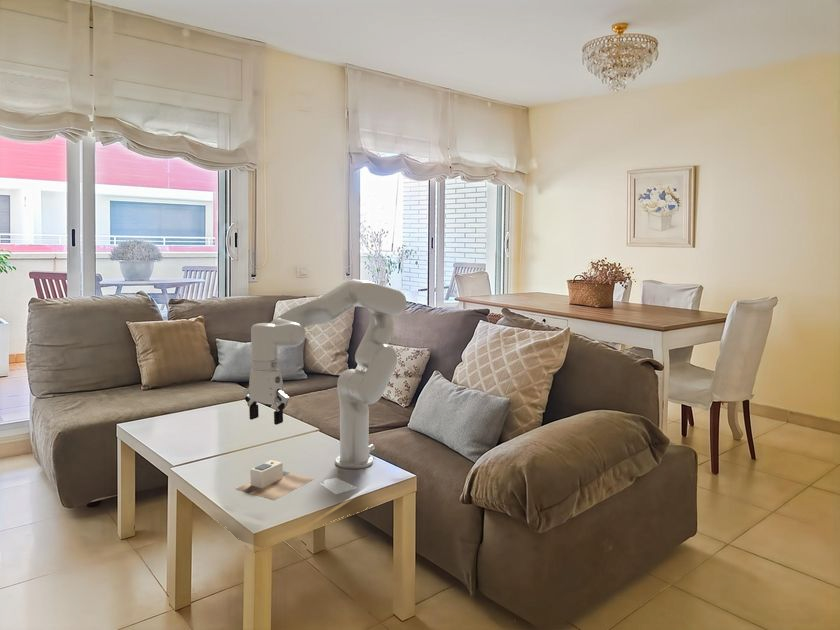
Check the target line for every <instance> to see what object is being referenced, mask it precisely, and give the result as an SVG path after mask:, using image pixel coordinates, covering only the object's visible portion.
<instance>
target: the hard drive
mask: <svg viewBox="0 0 840 630" xmlns="http://www.w3.org/2000/svg"><path fill="white" fill-rule="evenodd" d="M320 485H321V486H323V487H324V488H326V489H327V490H328V491H330V492H331V493H333V494H334V495H339V494H342V493H346V492H349V491H352V490H355V489H357V487H356V486H354V485H352V484H350V483H348V482H347V481H345V480H341V479H340V478H338V477H333V478H328V479H324V480H323V483H320Z"/></svg>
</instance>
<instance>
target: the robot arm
mask: <svg viewBox="0 0 840 630" xmlns="http://www.w3.org/2000/svg"><path fill="white" fill-rule="evenodd" d="M407 303H408V302H407V298H406V296H405V294H404V293H403V292H402V291H401V290H398V289H395V288H391V287H388V286H384V285H382V284H378V283H376V282H374V281H373V282H372V281H369V280H362V279H349V280H346V281H344V282H342V283H341V284H340V285H338V286H336V287H334V288H333V289H331V290H330V291H328V292H326V293H324V294H323V295H322V296H319V297H318V298H316V299H313V300H310V301H307V302H305V303H303V304H300V305H298V306H295V307H293V308H290V309H289V310H286V311H285V312H283V313H281V314H280V315H279V316H277V317H275V318H274V319H272V320H271V322H261V323H260V322H259V323H254V324H253V325H252V326H251V328H250V341H251V344H250V345H251V346H250V347H251V369H250V372H249V383H248V387H247V388H245V389H243V390H242V394H243V396H244V400H245V401H246V403H247V404H246V405H247V407H248V408H249V410H248V411H249V412H248V413H249V420H251V421H252V420H256V419H257V418H259V404H258V403H260V404H266V405H272V407H273V408H274V411H273V424H274V425H276V426H278V425H280V424H283V422H284V410H285V409H286V407H287V406H288V403H289V401H290V396H288V394H286V393H285V391H284V382H283V376H282V372H281V370H280V368H279V367H280V362H279V359H278V358H279V356H278V355H279V354H278V351H279V347H280V348H281V347H282V348H285V347H286V348H293V347H295V348H296V347H298V346H300V345H301V344H303V342H304V341H305V338H306V330H305V329H306V328H307V327H311V326H316V325H324V324H328V323H331V322H334V321H335V320H338V318H340V317H342V316H343V315H345V314H346V313H348V312H350V311H351V310H353V309H355V307H359V308H360V307H361V308H365V309H367V311H368V314H369V324H368V327H367V328H366V331H365V333H364V335H363V337H362V339H361V341H360V343H359V345H358V347H357V349H356V351H355V356H354V360H355V362H356V364H357V365H358V366H360V367H362V368H363V369H366V370H365V371H363V370H361V369H355V368H350V369H346V370H344V371H342V372H341V373H340V375H339V376H338V379H337V384H336V387H337V394H338V401H339V455H338V456H337V457H336V458H335V464H336V466H338V467H340V468H342V469H349V470H350V469H351V470H355V469H356V470H357V469H358V470H359V469H363V468H368V467H369V466H371V465H373V463H374V457H373V456H372V455H371V454H370V453H371V451H373V450H375V448H376V446H375V444H373V443H372V444H370V442H369V438H370V437H369V435H370V434H369V431H370V430H369V427H370V424H369V422H370V421H369V420H370V419H369V417H370V413H369V411H370V410H369V405H372V404H375V403H376V402H378V401H379V400H380V399H381V397H382V396H383V395H384V393H385V391H386V388H387V387H388V384H389V382H390V380H391V378H392V376H393V374H394V372H395V369H396V368H397V362H398V354H397V352H396V350H395V348H394V347H392V346H391V345H389V343H390V340H391V339H392V336H393V333H394V329H395V328H394V326H395V325H394V319H393V317H397V316H400V315H401V314H403V313H404V311H405V310H406V309H407V308H406V307H407Z"/></svg>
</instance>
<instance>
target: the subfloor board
mask: <svg viewBox="0 0 840 630" xmlns="http://www.w3.org/2000/svg"><path fill="white" fill-rule="evenodd" d="M314 480H315V478H313V477H309V476H303V475H300V474H297V473H296V474H295V473H292V472H288V471H285V470H283V478H282V479H280V480H278V481H276V482H274V483H272V484H270V485H268V486H266V487H264V488H259V487H256V486H252V485H251V481H249V482H248V483H245V484H243V485H242V486H239V487H237V488H235V490H236V491H240V492H244V493H247V494H250V495H254V496H258V497H262V498H264V499H268V500H271V501H276V500H278V499H279V498H281V497H283V496H286V495H287V494H289V493H291V492H292V491H294V490H297V489H298V488H300V487H302V486H304V485H306V484H308V483H310V482H312V481H314Z"/></svg>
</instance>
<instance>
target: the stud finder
mask: <svg viewBox="0 0 840 630" xmlns="http://www.w3.org/2000/svg"><path fill="white" fill-rule="evenodd" d="M283 464H284V463H283V462H282V461H279V460H278V461H277V460H274V459H271V460H270V459H269V460H267V461H266V462H263V463H261V464H259V465H256V466H254V467H252V468H250V470H249V471H250V482H251V485H252V486H256V487H259V488H264V487H266V486H268V485H270V484H272V483H274V482H276V481H278V480H280V479H282V478H283V471H284V470H283V467H284V465H283Z"/></svg>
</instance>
